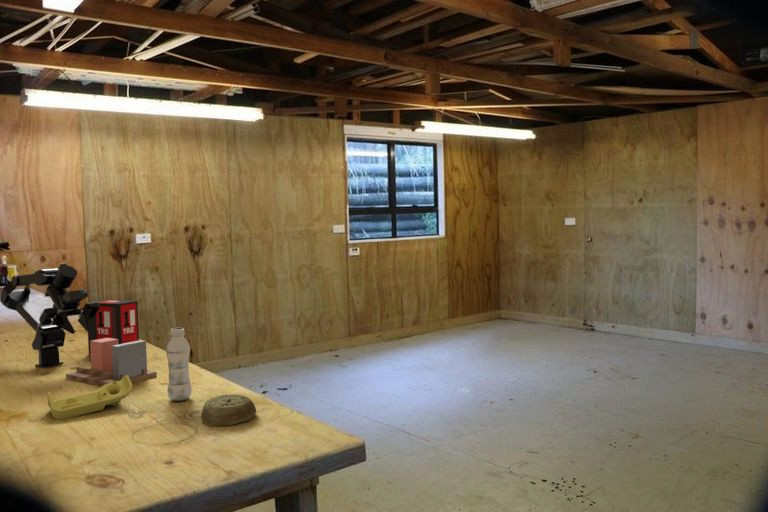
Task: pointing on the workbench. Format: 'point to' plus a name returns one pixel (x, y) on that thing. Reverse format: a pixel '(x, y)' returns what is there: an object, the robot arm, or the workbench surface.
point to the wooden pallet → (103, 376)
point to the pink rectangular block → (102, 354)
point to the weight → (227, 410)
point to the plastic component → (90, 400)
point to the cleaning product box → (114, 321)
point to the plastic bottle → (178, 366)
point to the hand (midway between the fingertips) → (81, 331)
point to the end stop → (129, 359)
